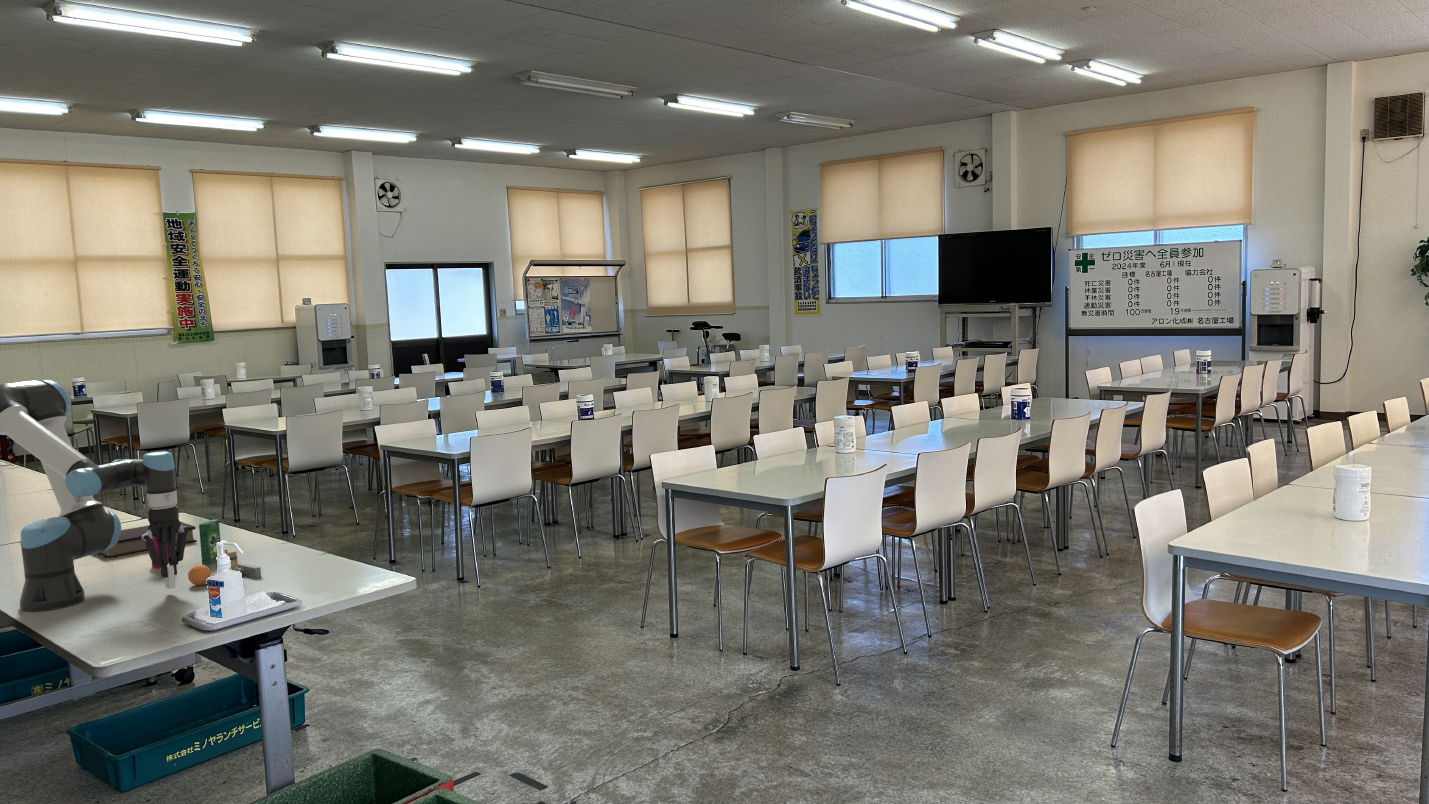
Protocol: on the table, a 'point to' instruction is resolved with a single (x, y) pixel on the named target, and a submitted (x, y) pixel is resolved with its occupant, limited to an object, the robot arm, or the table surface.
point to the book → (138, 541)
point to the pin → (233, 560)
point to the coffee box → (209, 540)
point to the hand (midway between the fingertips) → (170, 587)
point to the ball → (199, 574)
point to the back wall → (250, 570)
